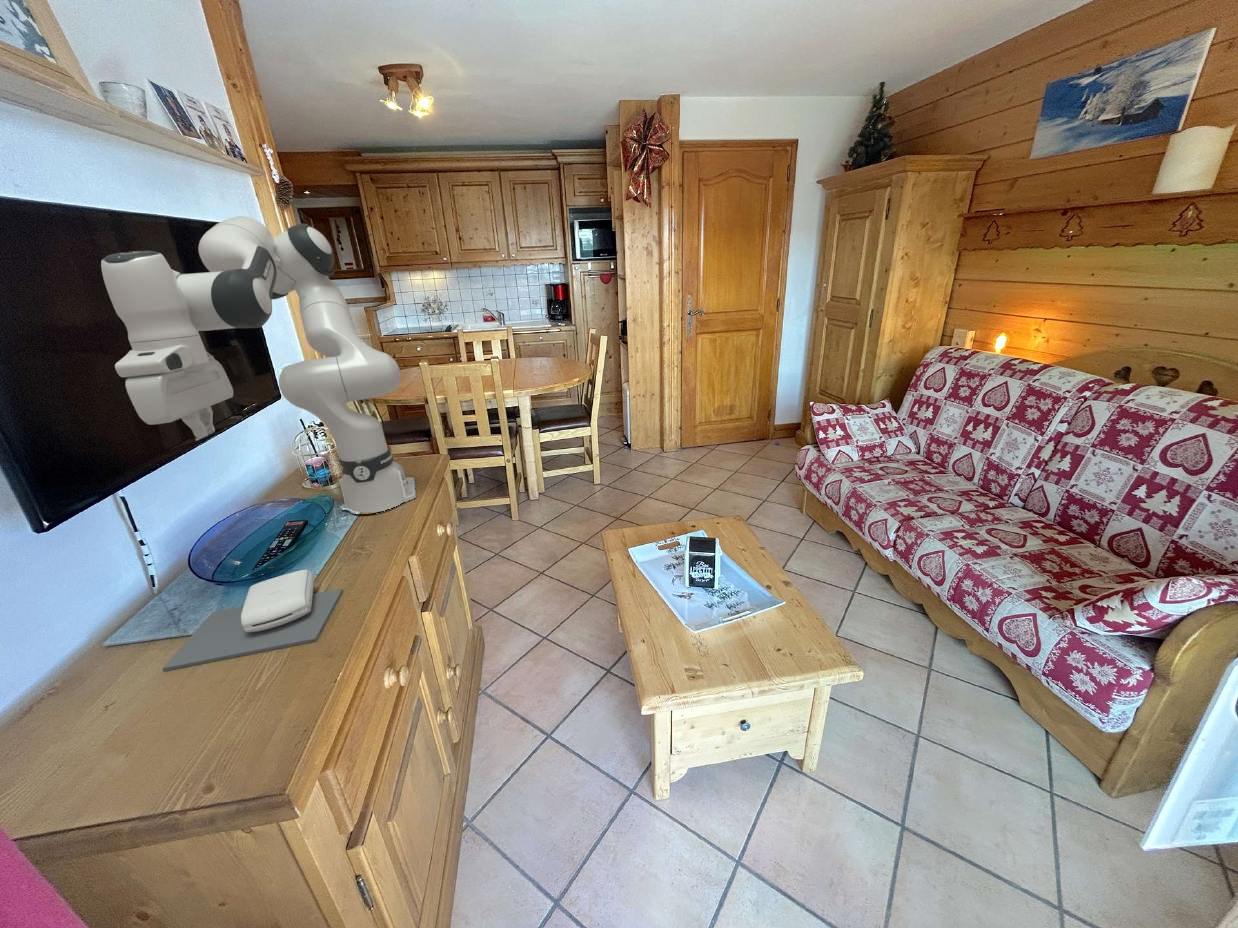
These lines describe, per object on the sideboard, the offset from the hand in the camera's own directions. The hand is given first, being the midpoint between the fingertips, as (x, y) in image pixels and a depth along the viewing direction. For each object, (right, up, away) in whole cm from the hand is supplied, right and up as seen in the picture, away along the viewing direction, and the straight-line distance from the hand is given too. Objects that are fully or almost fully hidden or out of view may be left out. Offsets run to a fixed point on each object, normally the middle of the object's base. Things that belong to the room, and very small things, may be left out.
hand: (205, 435), depth 85 cm
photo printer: (+10, -28, +5) cm, 30 cm away
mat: (+12, -33, -2) cm, 35 cm away
